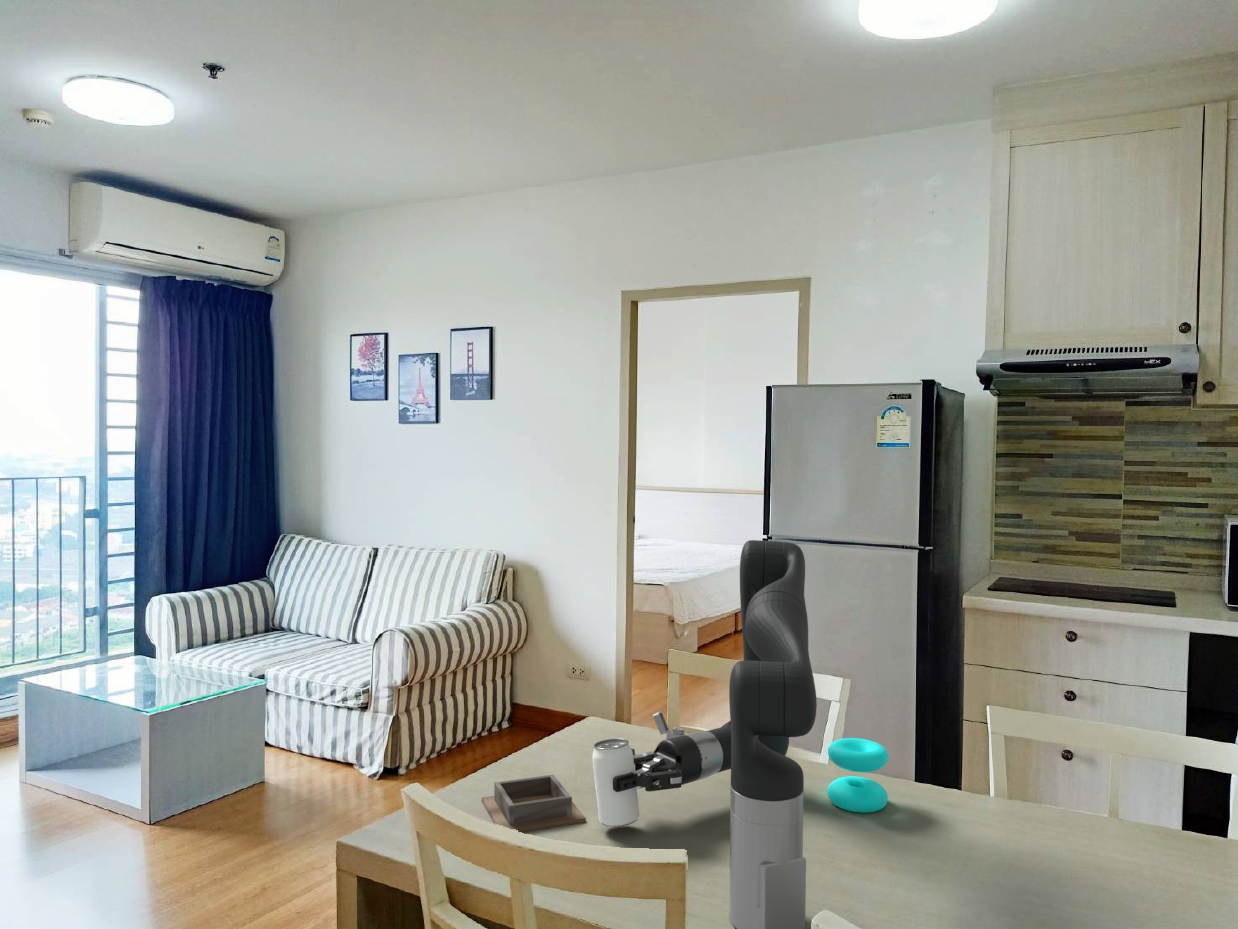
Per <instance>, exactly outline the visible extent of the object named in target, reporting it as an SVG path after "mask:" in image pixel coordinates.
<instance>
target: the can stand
mask: <svg viewBox="0 0 1238 929" xmlns="http://www.w3.org/2000/svg"><path fill="white" fill-rule="evenodd" d="M493 786H494V792H493V793H494V794H493V795H490V796H483V797H481V802H482V804H483V806H484V808H485V810H486V812H487V813H488V815H489V817H490V818H491V821H492V822H493V824H494V823H496V824H499V825H503V826H505V827H508V828H510V829H516V830H518V831H521V832H520V833H523V832H529V831H536V830H542V829H547V828H548V829H549V828H554V827H556V828H557V827H560V826H567V825H574V824H580V823H586V821H587V818H586V816H585V815H584V814H583V812H582V811H581V810H580V809H579V808H578V807H577V805H576V804H575V803H574V801H573V797H572V795H571V794H570V793H569V792H568V791H567V789H566V788H565V787H564V786H563V785H562V783H561V782H560V781H559V780H558V778H557V777H556V776H555V775H554V774H549V775H547V774H546V775H541V776H535V777H534V776H533V777H526V778H518V779H511V780H504V781H496V782H494V784H493Z"/></svg>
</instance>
